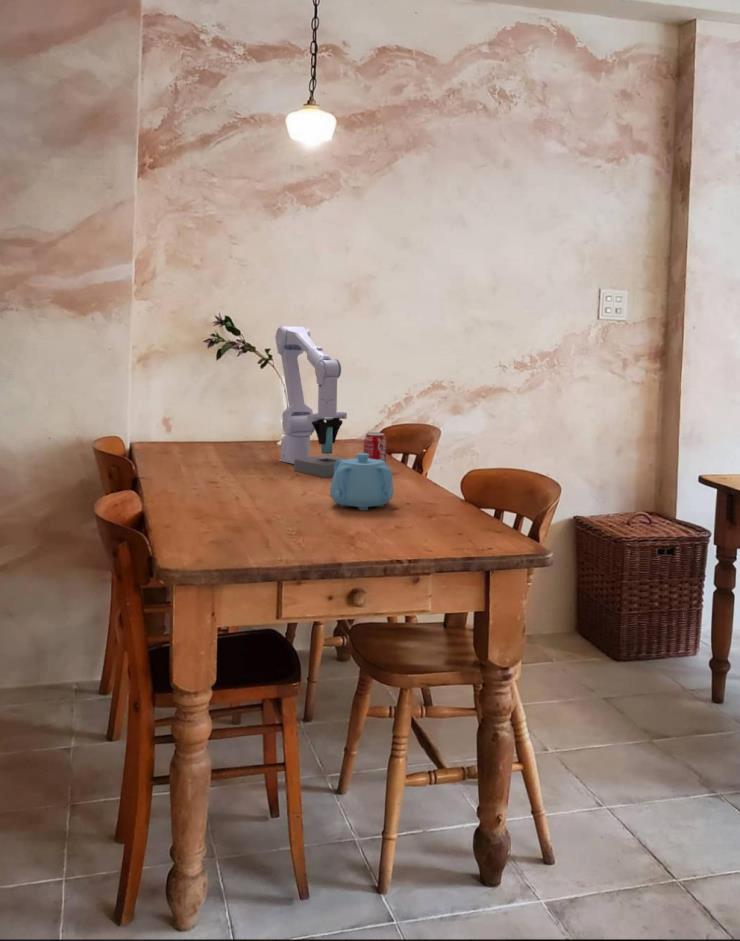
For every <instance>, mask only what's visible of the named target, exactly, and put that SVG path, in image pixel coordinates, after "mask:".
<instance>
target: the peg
mask: <svg viewBox="0 0 740 941" xmlns="http://www.w3.org/2000/svg"><path fill="white" fill-rule="evenodd" d="M333 444H334V443H333V427H327V431H326V442H325V444H324V445H323V444H320V445H321V450H320V453H321V454H324V455H330V454H331V455H332V454H333Z"/></svg>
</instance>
